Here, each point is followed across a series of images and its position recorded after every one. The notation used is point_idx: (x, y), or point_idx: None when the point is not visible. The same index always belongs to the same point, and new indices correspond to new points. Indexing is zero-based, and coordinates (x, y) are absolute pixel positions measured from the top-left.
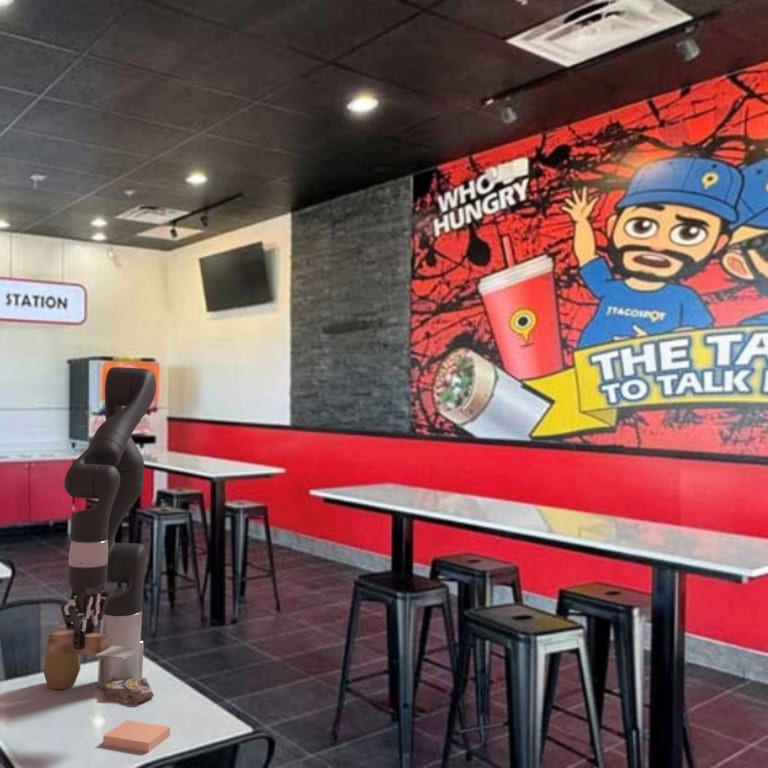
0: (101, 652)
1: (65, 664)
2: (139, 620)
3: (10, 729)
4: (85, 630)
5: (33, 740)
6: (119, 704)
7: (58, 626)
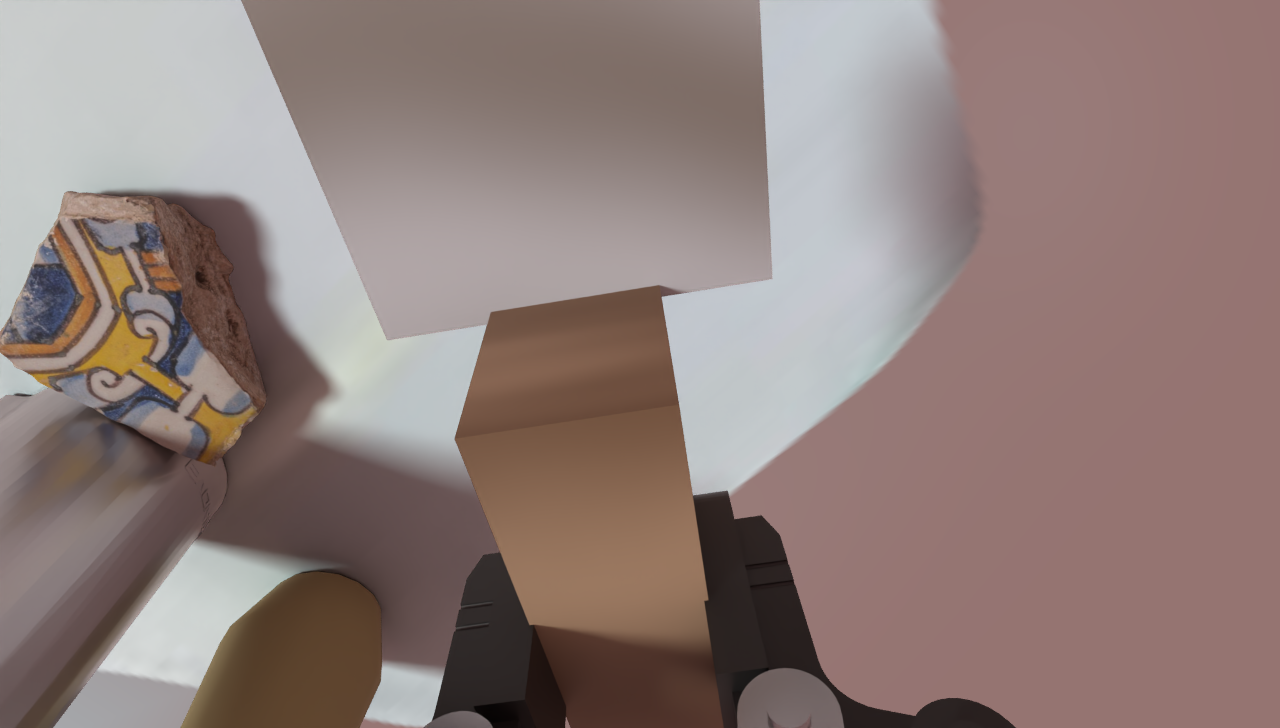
0: (655, 278)
1: (311, 666)
2: None
3: (742, 467)
4: (556, 716)
5: (792, 327)
6: (275, 291)
7: None
